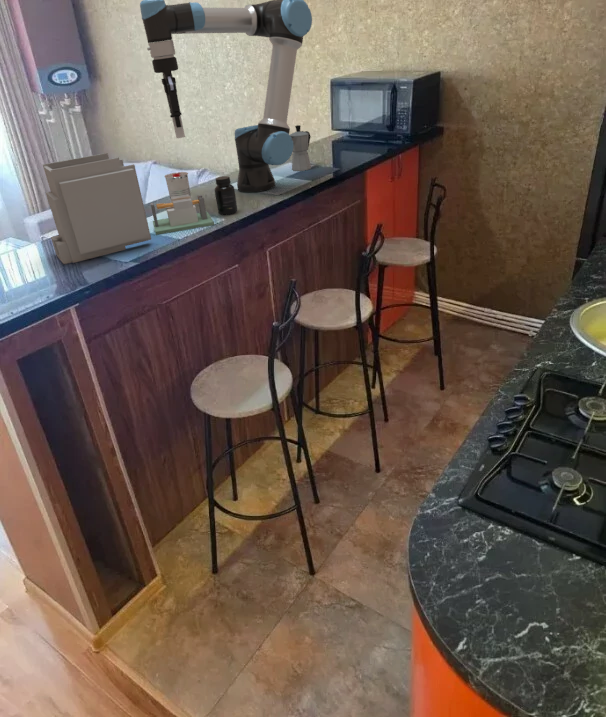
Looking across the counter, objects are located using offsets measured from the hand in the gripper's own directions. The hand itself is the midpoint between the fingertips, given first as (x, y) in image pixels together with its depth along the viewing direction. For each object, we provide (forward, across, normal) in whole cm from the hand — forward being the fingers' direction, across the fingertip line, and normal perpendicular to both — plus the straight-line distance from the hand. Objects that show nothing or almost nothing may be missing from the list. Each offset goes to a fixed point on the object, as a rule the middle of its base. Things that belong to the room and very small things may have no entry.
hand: (180, 137), depth 189 cm
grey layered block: (+25, +22, -31) cm, 46 cm away
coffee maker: (+28, -45, +54) cm, 76 cm away
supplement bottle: (+26, +6, +10) cm, 29 cm away
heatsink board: (+25, +10, -6) cm, 28 cm away
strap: (+19, +10, -6) cm, 22 cm away
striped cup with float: (+26, -11, -4) cm, 29 cm away
